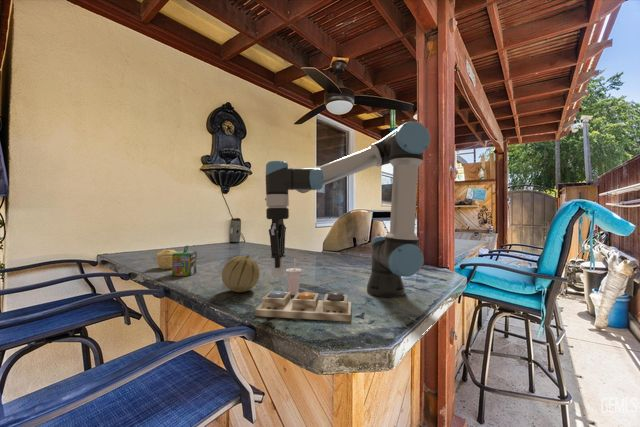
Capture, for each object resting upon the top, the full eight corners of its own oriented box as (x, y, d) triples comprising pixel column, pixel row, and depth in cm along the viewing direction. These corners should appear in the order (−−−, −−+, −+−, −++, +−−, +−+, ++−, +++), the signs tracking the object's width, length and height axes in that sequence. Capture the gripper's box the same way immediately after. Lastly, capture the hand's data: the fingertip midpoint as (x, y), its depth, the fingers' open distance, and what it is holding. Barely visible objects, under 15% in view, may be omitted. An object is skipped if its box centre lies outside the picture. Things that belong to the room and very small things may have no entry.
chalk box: (179, 272, 144) (179, 244, 143) (196, 272, 145) (197, 244, 144) (171, 276, 134) (171, 247, 134) (190, 276, 135) (190, 246, 135)
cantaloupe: (216, 290, 112) (217, 254, 112) (250, 284, 121) (250, 251, 121) (229, 299, 100) (229, 259, 100) (265, 292, 109) (265, 255, 109)
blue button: (286, 298, 94) (286, 291, 94) (282, 303, 89) (282, 295, 89) (272, 297, 94) (272, 290, 94) (267, 302, 90) (267, 294, 90)
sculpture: (154, 271, 146) (154, 251, 146) (159, 266, 157) (159, 248, 157) (177, 269, 150) (177, 250, 150) (181, 265, 161) (181, 247, 161)
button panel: (350, 307, 93) (351, 294, 93) (350, 321, 81) (350, 306, 81) (266, 303, 97) (267, 290, 97) (254, 315, 85) (254, 301, 85)
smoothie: (298, 296, 104) (299, 260, 104) (283, 295, 105) (283, 260, 105) (303, 292, 110) (303, 257, 110) (288, 291, 112) (288, 257, 112)
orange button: (314, 299, 93) (314, 292, 93) (312, 304, 88) (312, 297, 88) (300, 299, 93) (300, 291, 93) (297, 303, 88) (297, 296, 88)
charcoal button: (343, 298, 91) (343, 291, 91) (342, 303, 86) (343, 296, 86) (328, 298, 92) (328, 290, 92) (327, 303, 87) (327, 295, 87)
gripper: (272, 207, 98) (273, 272, 99) (260, 207, 85) (261, 281, 86) (292, 207, 97) (293, 272, 98) (283, 207, 84) (284, 282, 85)
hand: (278, 276), depth 92 cm, fingers closed
